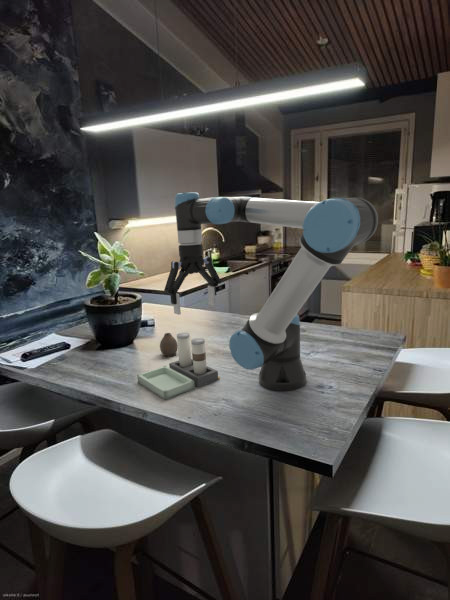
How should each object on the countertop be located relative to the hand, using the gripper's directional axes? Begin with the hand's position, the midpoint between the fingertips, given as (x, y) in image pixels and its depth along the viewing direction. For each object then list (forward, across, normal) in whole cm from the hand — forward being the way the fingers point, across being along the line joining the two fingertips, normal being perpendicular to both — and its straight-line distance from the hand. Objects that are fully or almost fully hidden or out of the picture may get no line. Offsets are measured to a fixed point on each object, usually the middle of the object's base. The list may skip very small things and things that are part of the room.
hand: (195, 309), depth 132 cm
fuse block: (+24, 0, -4) cm, 25 cm away
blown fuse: (+24, 0, 0) cm, 24 cm away
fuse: (+24, 0, -9) cm, 26 cm away
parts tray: (+24, +11, -4) cm, 27 cm away
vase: (+24, -5, -28) cm, 38 cm away
